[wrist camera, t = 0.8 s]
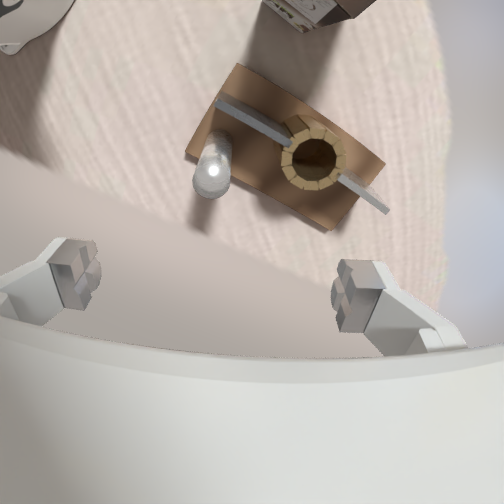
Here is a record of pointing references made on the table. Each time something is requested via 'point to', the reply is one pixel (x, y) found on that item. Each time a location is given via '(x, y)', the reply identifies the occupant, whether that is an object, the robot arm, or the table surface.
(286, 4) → the coffee box
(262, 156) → the walnut base
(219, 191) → the hinge pin
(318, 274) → the table surface
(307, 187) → the hinge
